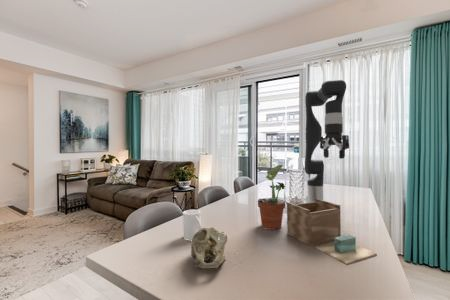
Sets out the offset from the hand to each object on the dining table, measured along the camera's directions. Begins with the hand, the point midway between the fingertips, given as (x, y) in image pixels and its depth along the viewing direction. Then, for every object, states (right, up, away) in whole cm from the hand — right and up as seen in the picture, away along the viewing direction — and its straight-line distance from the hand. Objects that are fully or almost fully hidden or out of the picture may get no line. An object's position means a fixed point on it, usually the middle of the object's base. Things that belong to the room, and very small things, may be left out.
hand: (333, 158), depth 103 cm
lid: (-3, -37, -16) cm, 40 cm away
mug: (-66, -37, -2) cm, 75 cm away
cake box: (-10, -36, 0) cm, 38 cm away
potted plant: (-26, -37, +13) cm, 47 cm away
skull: (-57, -38, -22) cm, 72 cm away
